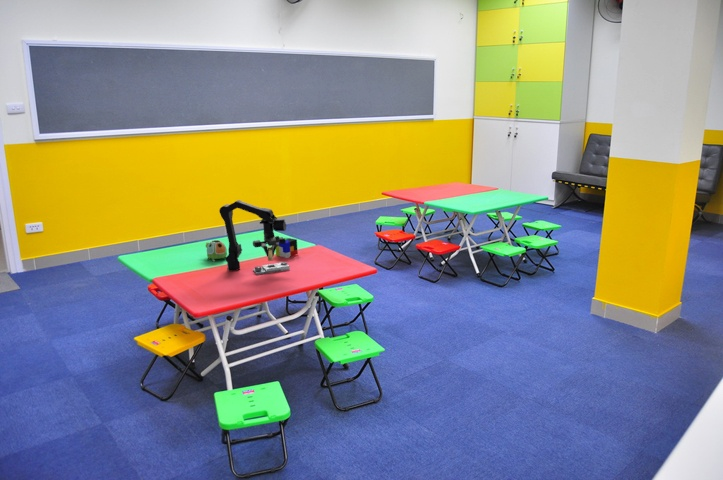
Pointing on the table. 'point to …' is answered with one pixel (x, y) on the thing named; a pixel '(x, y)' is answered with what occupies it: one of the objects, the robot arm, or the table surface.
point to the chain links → (271, 268)
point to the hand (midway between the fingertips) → (270, 256)
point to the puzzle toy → (287, 248)
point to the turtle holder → (216, 250)
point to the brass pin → (270, 253)
